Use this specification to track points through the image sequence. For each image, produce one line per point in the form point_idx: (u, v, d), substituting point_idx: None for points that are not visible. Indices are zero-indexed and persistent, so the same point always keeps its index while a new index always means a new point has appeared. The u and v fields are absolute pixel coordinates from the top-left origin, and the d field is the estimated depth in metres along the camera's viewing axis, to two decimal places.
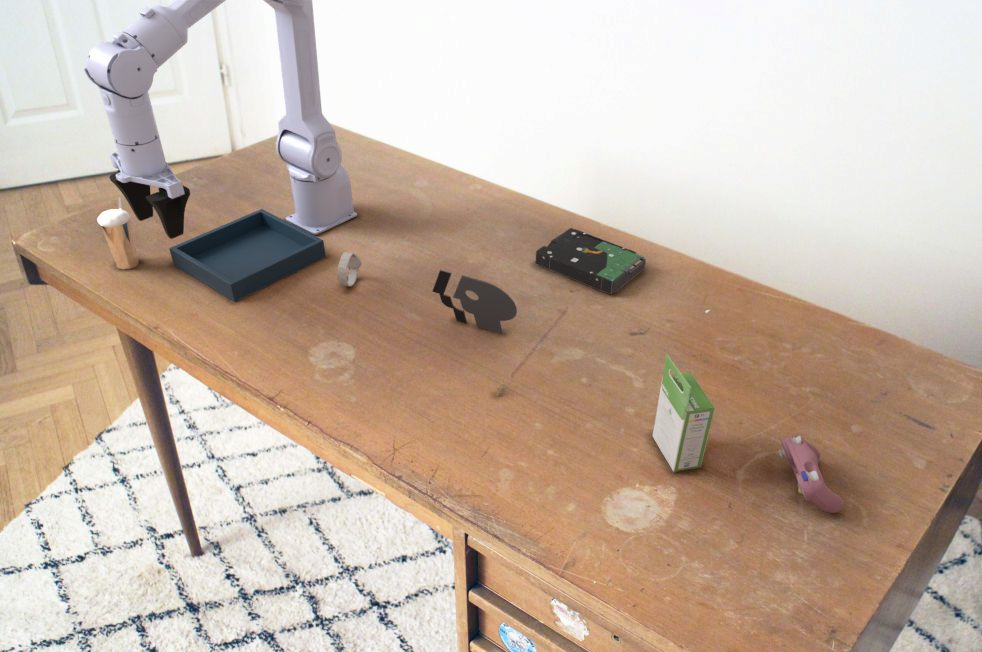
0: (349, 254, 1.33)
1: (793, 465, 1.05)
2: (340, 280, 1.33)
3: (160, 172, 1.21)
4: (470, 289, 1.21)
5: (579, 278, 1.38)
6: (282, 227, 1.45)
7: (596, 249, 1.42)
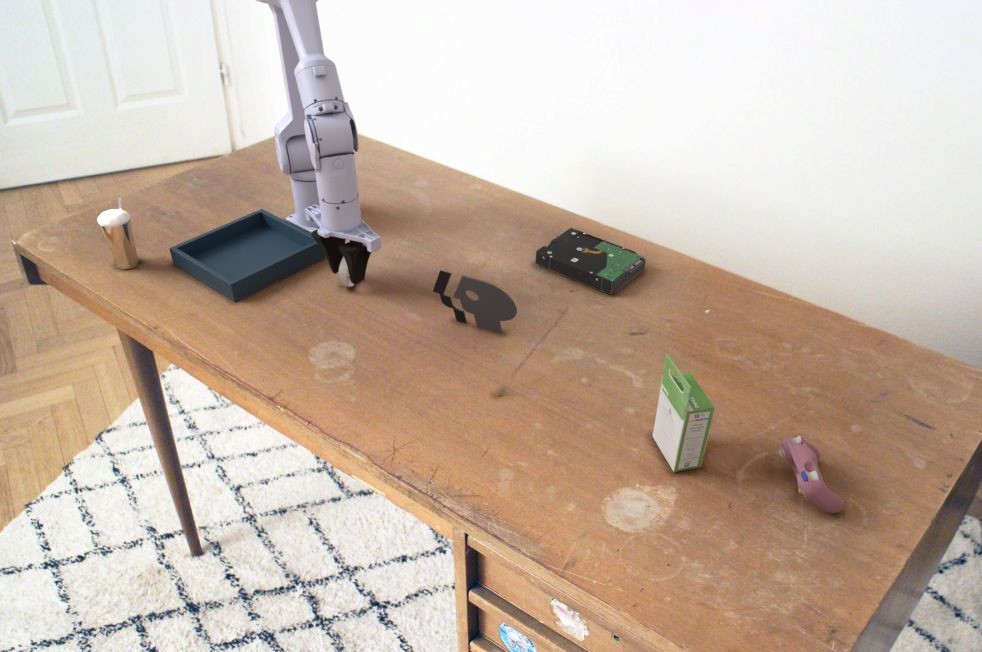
0: None
1: (793, 465, 1.05)
2: (341, 280, 1.33)
3: (358, 227, 1.29)
4: (470, 289, 1.21)
5: (579, 278, 1.38)
6: (282, 227, 1.45)
7: (596, 249, 1.42)
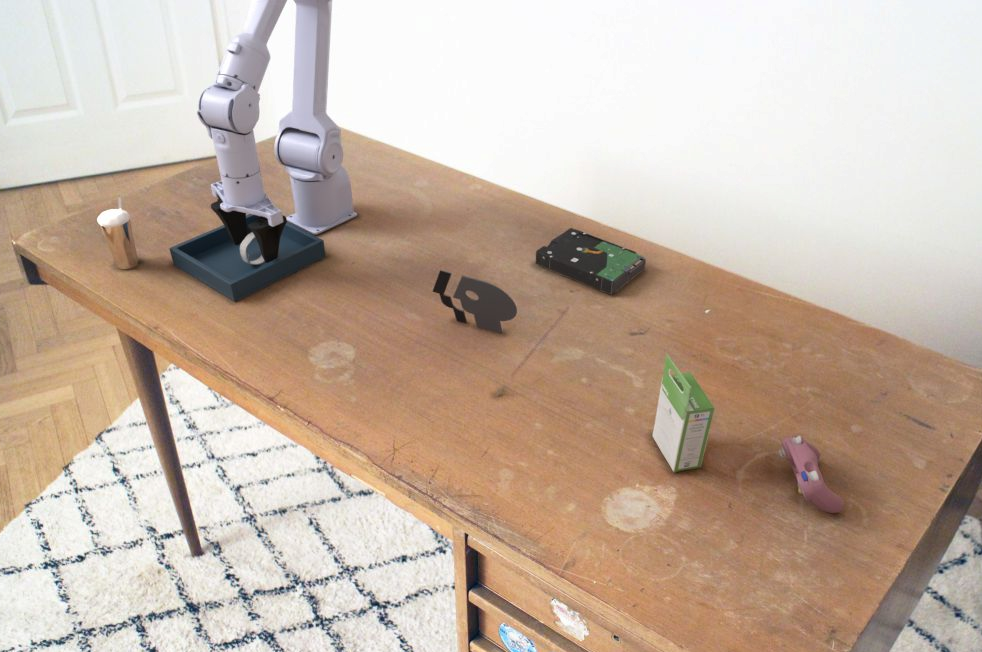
0: None
1: (793, 465, 1.05)
2: (242, 257, 1.36)
3: (260, 202, 1.31)
4: (470, 289, 1.21)
5: (579, 278, 1.38)
6: None
7: (596, 249, 1.42)
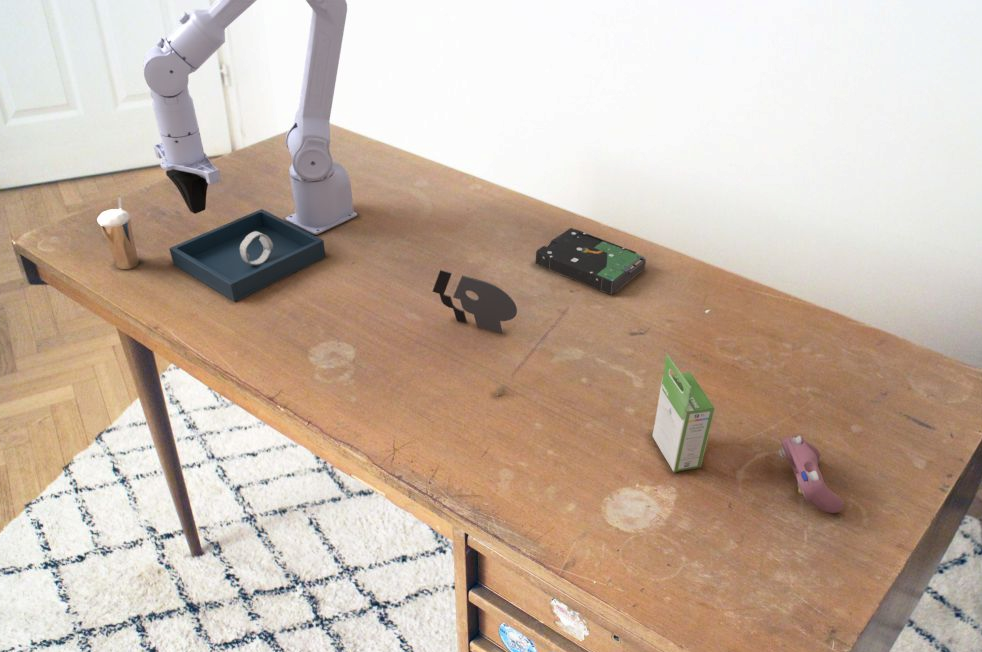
0: (256, 234, 1.36)
1: (793, 465, 1.05)
2: (242, 257, 1.36)
3: (199, 161, 1.36)
4: (470, 289, 1.21)
5: (579, 278, 1.38)
6: (282, 228, 1.45)
7: (596, 249, 1.42)
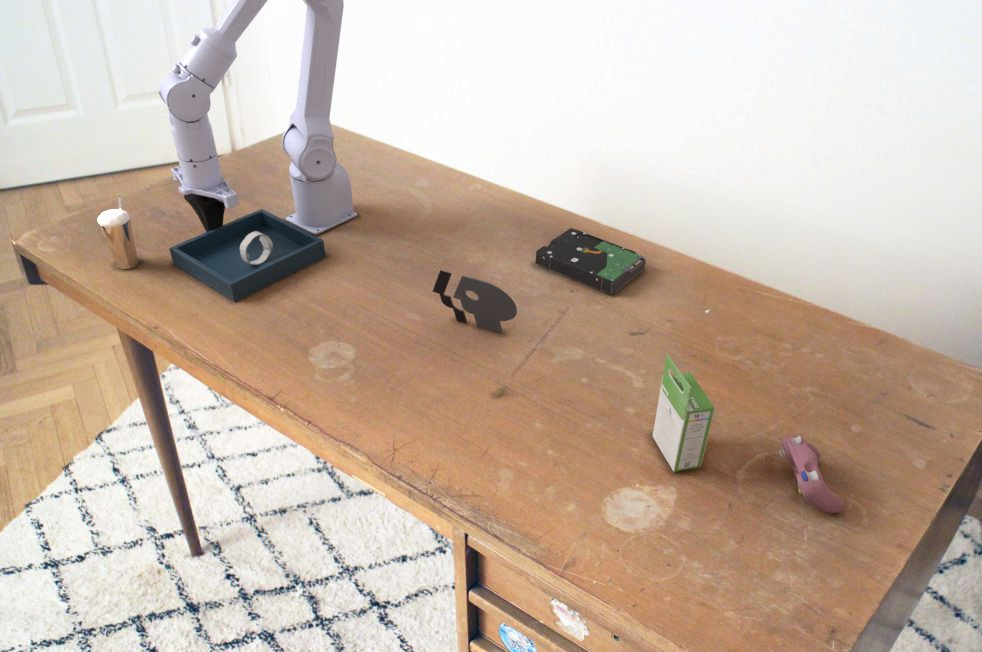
0: (256, 234, 1.36)
1: (793, 465, 1.05)
2: (242, 257, 1.36)
3: (217, 185, 1.36)
4: (470, 289, 1.21)
5: (579, 278, 1.38)
6: (282, 227, 1.45)
7: (596, 249, 1.42)
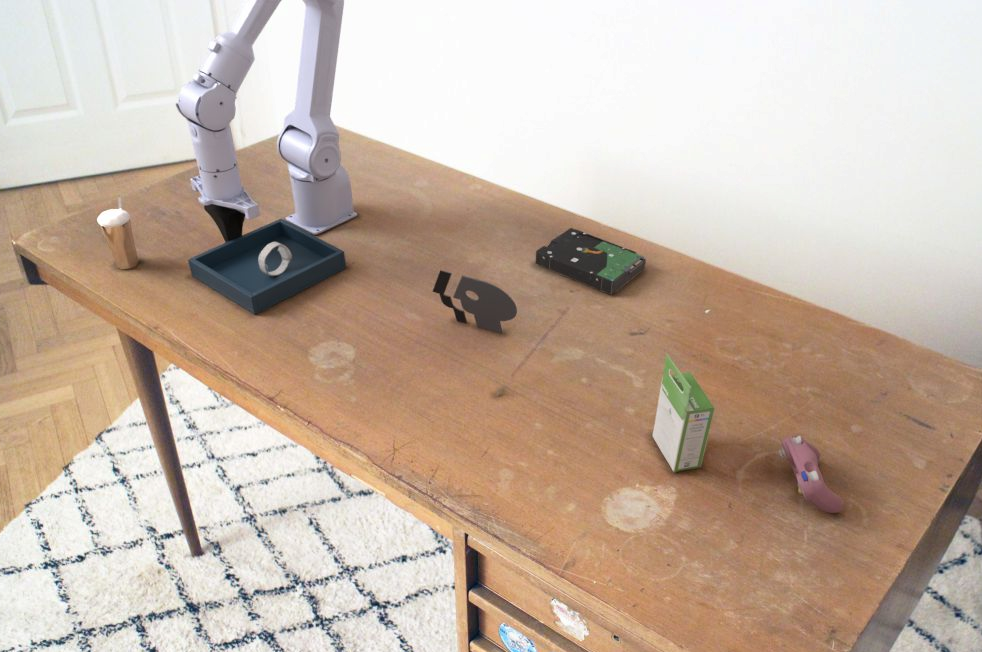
0: (275, 244, 1.34)
1: (793, 465, 1.05)
2: (261, 267, 1.34)
3: (237, 195, 1.34)
4: (470, 289, 1.21)
5: (579, 278, 1.38)
6: (302, 238, 1.42)
7: (596, 249, 1.42)
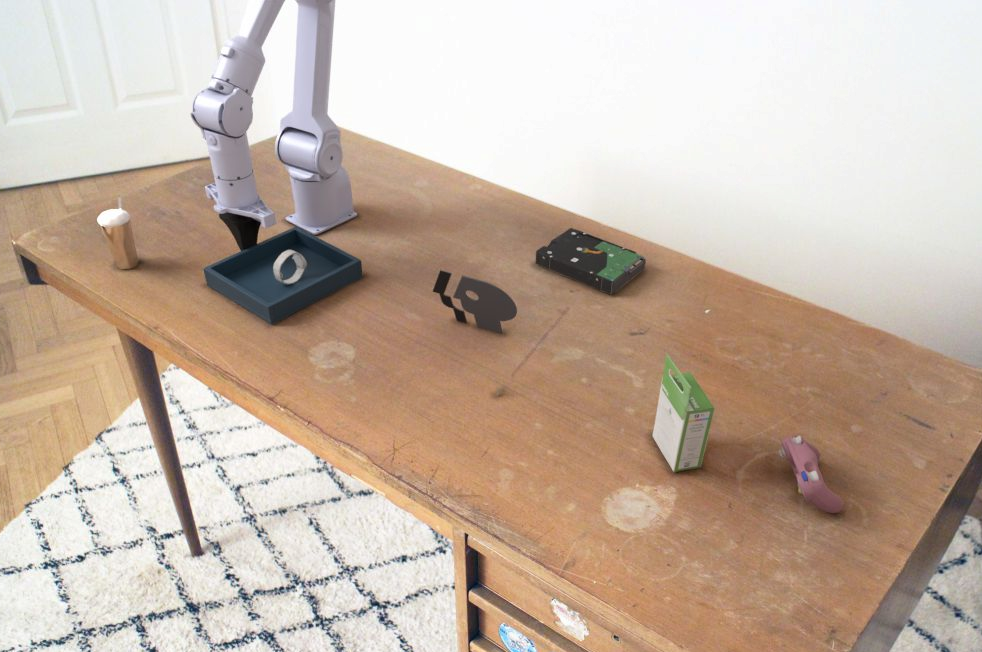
0: (290, 252, 1.32)
1: (793, 465, 1.05)
2: (276, 276, 1.32)
3: (253, 204, 1.32)
4: (470, 289, 1.21)
5: (579, 278, 1.38)
6: (317, 246, 1.40)
7: (596, 249, 1.42)
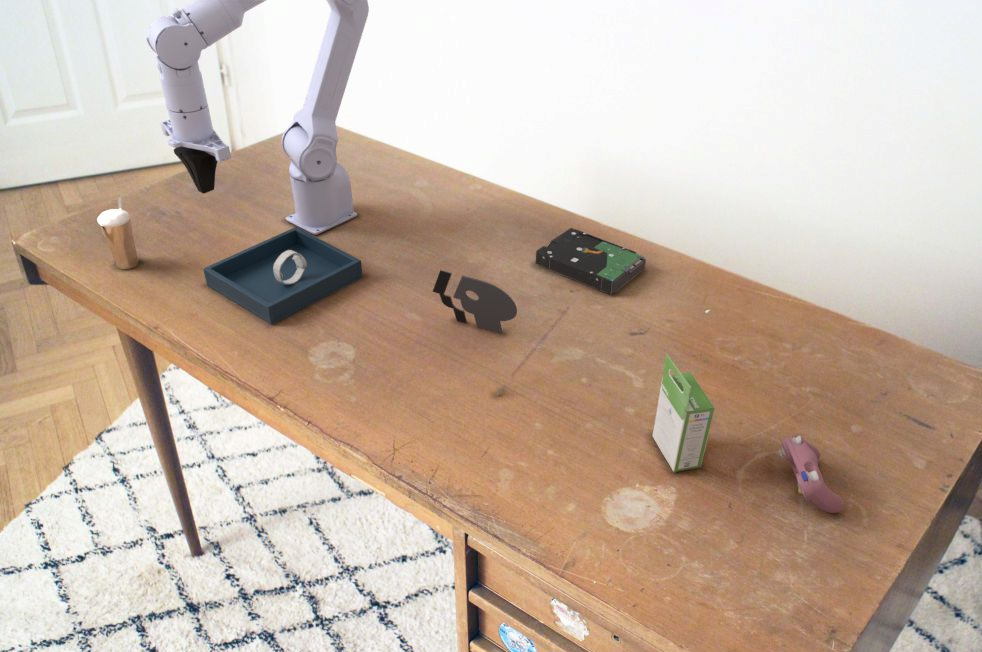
0: (290, 253, 1.32)
1: (793, 465, 1.05)
2: (276, 276, 1.32)
3: (208, 138, 1.31)
4: (470, 289, 1.21)
5: (579, 278, 1.38)
6: (317, 246, 1.41)
7: (596, 249, 1.42)
